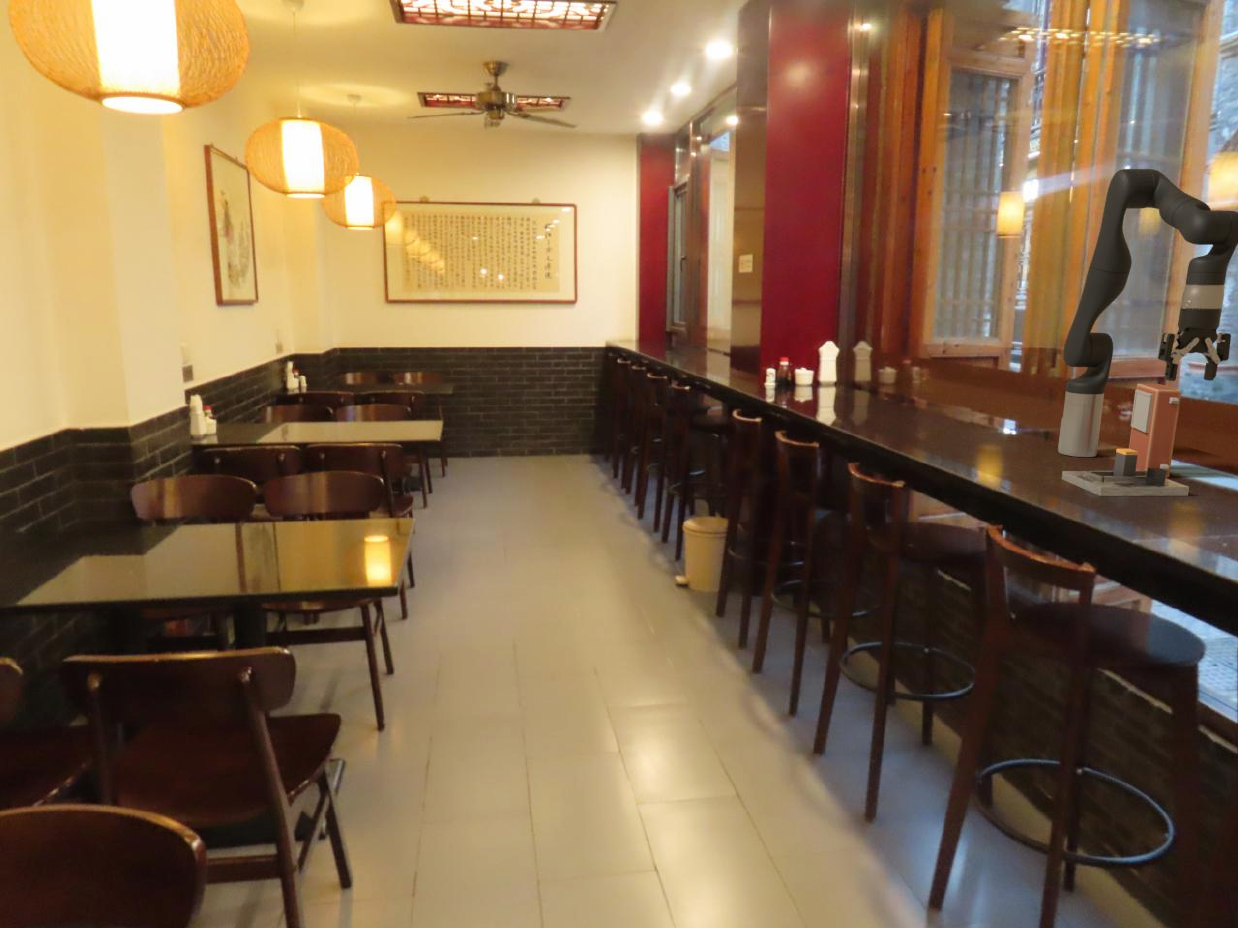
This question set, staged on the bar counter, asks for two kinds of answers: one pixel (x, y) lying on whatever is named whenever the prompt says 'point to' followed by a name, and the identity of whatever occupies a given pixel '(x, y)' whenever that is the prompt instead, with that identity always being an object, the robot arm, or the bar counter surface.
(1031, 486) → the bar counter surface
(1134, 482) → the breaker board
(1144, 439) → the orange rectangular box
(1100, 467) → the bar counter surface
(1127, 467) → the block
